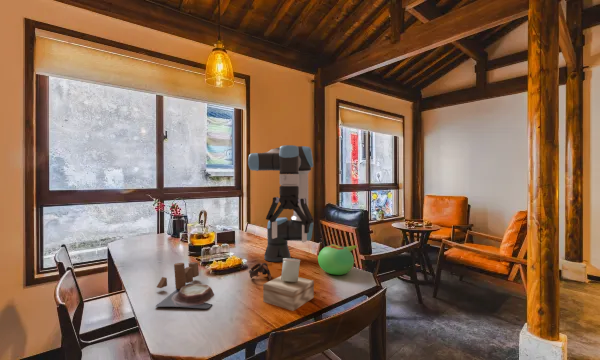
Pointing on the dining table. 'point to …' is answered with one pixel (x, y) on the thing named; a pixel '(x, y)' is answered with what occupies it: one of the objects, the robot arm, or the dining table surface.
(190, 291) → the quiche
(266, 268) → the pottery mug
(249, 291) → the dining table surface
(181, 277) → the wooden block set
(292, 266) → the celadon tea cup
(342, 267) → the round green toy
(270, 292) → the beech tea box
